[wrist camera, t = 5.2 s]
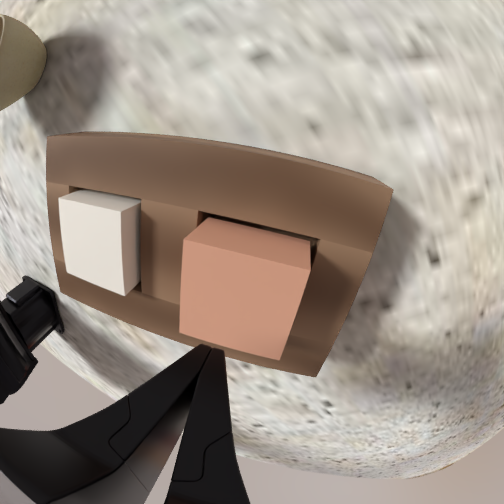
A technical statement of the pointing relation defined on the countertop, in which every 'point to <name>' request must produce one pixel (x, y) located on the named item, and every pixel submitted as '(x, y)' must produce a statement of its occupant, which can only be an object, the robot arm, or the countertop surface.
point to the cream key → (102, 238)
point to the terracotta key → (242, 286)
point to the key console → (227, 209)
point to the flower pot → (18, 60)
